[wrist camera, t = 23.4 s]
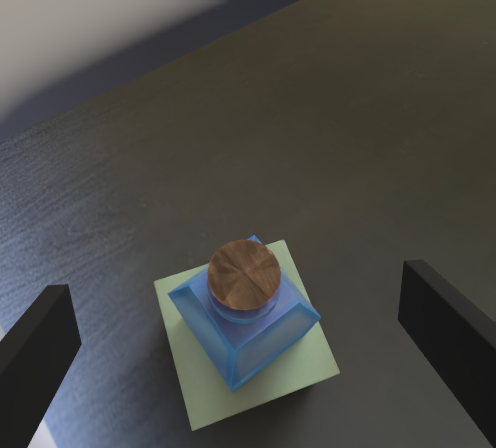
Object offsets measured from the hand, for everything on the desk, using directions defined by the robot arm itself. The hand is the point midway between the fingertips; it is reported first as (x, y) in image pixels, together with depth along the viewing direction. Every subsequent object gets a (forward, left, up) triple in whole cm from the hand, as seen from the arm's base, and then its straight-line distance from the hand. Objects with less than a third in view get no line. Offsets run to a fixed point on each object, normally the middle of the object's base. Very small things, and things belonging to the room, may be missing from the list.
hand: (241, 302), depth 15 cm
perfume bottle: (0, +1, -13) cm, 13 cm away
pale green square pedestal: (0, +1, -21) cm, 21 cm away
